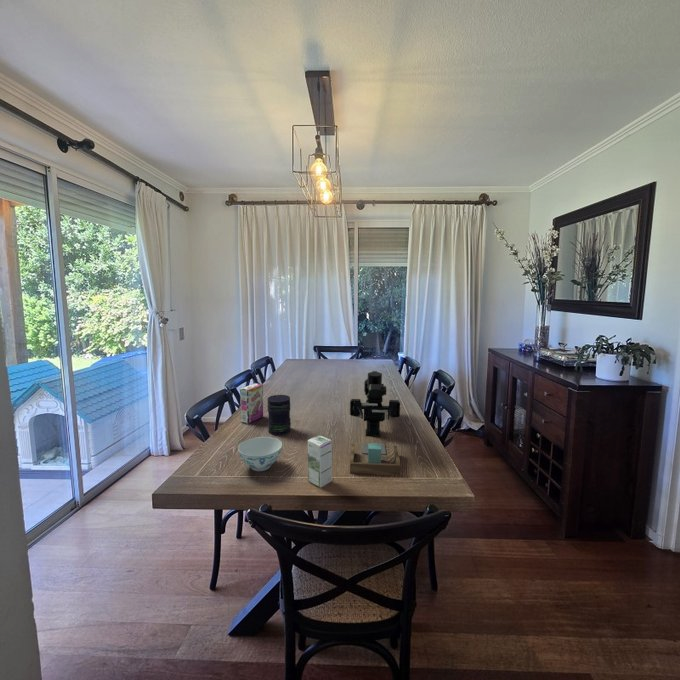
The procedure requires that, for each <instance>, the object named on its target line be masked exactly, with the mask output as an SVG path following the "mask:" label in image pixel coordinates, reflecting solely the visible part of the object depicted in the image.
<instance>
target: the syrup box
mask: <svg viewBox="0 0 680 680" xmlns="http://www.w3.org/2000/svg"><path fill="white" fill-rule="evenodd" d="M332 441H333V440H332V439H330V438H327V437H325V436H322V435H319V434H318V435H316V436H314V437H313V436H312V437H311V438H310V439H307V473H308V474H307V475H308V476H307V480H308V481H307V482H308V483H311V484H313V485H314V486H316V487H318V488H320V489H321V488H323V487H325V486H327V485H328V484H330V483H331V482H332V481H333V475H332V474H333V471H332V469H333V468H332V466H333V465H332V461H333V459H332V458H333V457H332V452H333V451H332V449H333V448H332Z"/></svg>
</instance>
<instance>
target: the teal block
mask: <svg viewBox="0 0 680 680" xmlns="http://www.w3.org/2000/svg"><path fill="white" fill-rule="evenodd" d="M367 443H368V454H367V463H382V455H381V444H382V443H381V444H378V443H377V442H375V443H373V442H372V443H371V442H367Z"/></svg>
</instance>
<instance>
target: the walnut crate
mask: <svg viewBox="0 0 680 680" xmlns="http://www.w3.org/2000/svg"><path fill="white" fill-rule="evenodd" d="M393 457H394V458H393V459H394V463H382V462H381V463H368V462H354V461H355V443H352V444H351V449H350V461H349V474H358V475H362V474H363V475H382V476H401V461H400V456H399V450H398V445H393Z"/></svg>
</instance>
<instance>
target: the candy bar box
mask: <svg viewBox="0 0 680 680" xmlns="http://www.w3.org/2000/svg"><path fill="white" fill-rule="evenodd" d="M239 397H240V398H239V401H240V402H239V403H240V408H239V409H240V422H241V423H243V424H246V425H249V424H252V423H253V422H255V421H257V420H259V419H261V418H263V417H264V384H263V383H257V382H256V383H252V384H250V385H249V384H248V385H247V386H243V387H241V388H239Z"/></svg>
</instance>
